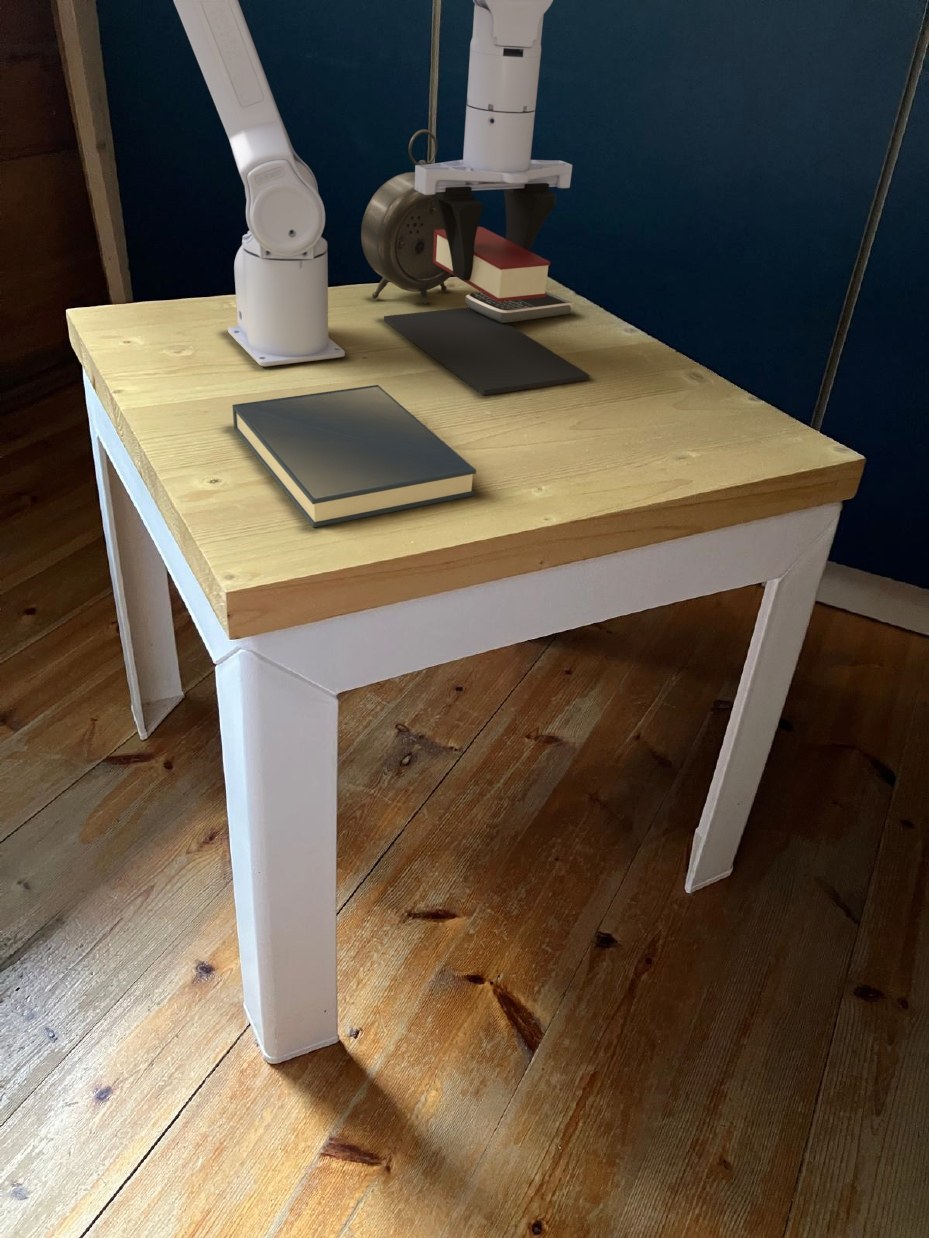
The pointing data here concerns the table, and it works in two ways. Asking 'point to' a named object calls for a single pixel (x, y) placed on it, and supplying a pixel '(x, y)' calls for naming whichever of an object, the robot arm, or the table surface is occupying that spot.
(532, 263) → the top book
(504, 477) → the table surface
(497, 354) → the mat
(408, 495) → the bottom book
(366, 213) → the alarm clock
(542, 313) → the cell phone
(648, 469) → the table surface
